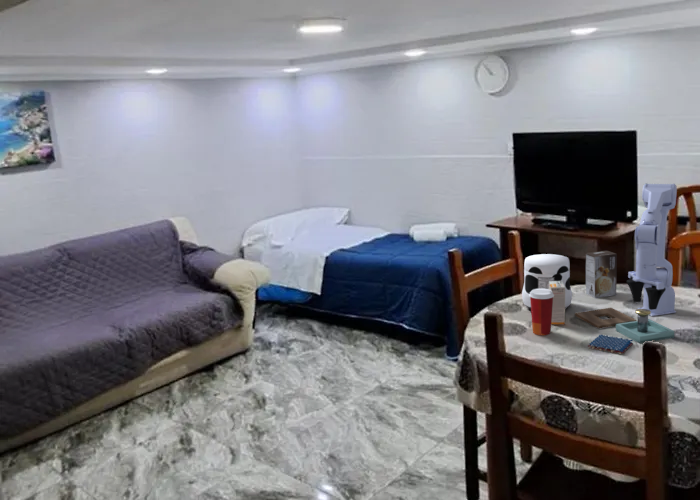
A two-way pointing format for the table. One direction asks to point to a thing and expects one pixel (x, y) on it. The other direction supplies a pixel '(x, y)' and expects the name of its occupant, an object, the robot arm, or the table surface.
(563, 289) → the supplement box
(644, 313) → the gunmetal pin
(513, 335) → the table surface
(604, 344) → the woven mat
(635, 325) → the teal tray
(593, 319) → the walnut socket
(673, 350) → the table surface
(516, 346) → the table surface
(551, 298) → the paper cup
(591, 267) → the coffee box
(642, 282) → the robot arm
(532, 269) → the milk container
